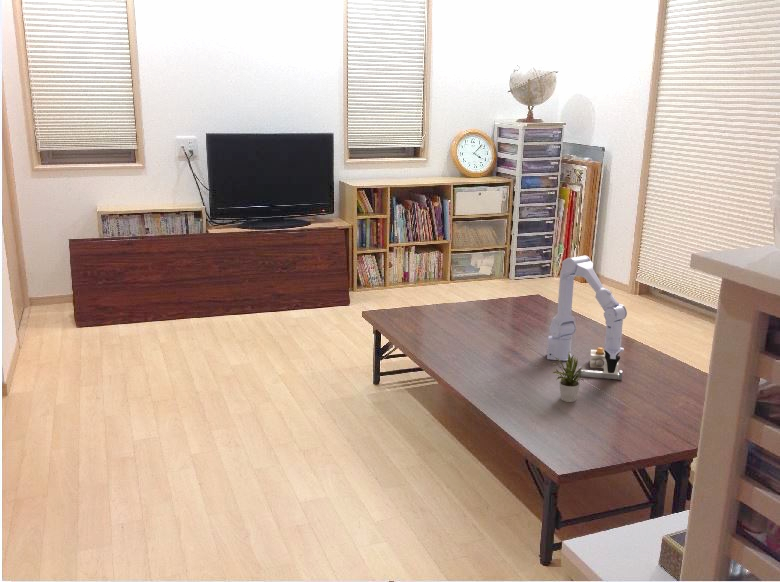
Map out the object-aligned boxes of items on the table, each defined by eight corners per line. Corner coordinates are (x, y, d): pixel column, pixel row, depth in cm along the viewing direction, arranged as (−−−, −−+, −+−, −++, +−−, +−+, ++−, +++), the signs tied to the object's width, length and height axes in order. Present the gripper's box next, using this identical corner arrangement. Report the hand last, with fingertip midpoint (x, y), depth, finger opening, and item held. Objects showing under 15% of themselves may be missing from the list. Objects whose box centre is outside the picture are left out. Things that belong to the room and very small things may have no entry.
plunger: (596, 353, 281) (597, 349, 280) (596, 351, 283) (597, 347, 283) (603, 354, 280) (603, 349, 280) (603, 352, 283) (603, 347, 282)
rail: (578, 376, 272) (578, 369, 271) (578, 373, 274) (578, 366, 274) (621, 380, 268) (622, 372, 267) (621, 377, 270) (622, 370, 270)
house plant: (543, 389, 260) (545, 347, 255) (581, 389, 259) (583, 347, 255) (550, 405, 246) (552, 361, 242) (590, 406, 245) (593, 362, 241)
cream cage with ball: (590, 367, 280) (590, 355, 279) (589, 361, 287) (590, 349, 286) (608, 369, 279) (609, 357, 277) (607, 362, 286) (608, 350, 284)
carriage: (603, 377, 269) (604, 363, 267) (603, 374, 272) (604, 359, 271) (617, 379, 267) (618, 364, 266) (616, 375, 271) (618, 361, 270)
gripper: (625, 343, 258) (622, 378, 262) (623, 331, 271) (620, 364, 275) (605, 342, 260) (602, 376, 263) (604, 330, 273) (601, 363, 277)
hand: (610, 370), depth 269 cm, fingers closed on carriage, 4 cm apart
